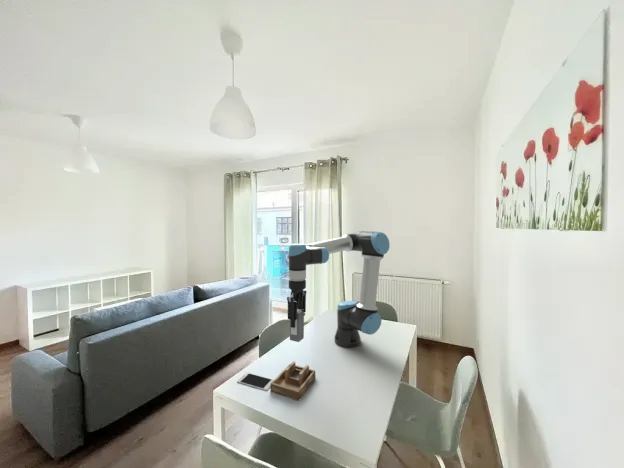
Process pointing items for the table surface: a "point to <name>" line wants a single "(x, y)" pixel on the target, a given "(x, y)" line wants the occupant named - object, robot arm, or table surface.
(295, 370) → the box
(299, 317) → the grey rectangular block
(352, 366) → the table surface
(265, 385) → the smartphone
